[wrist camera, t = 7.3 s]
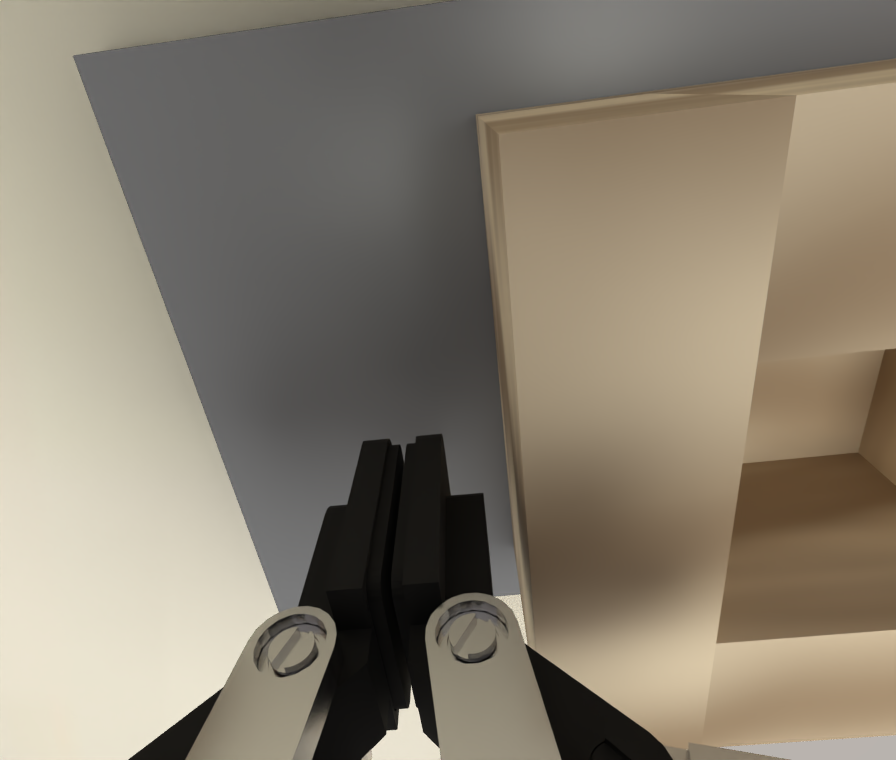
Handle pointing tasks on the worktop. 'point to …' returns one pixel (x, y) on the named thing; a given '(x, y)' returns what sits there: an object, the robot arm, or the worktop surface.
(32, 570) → the worktop surface
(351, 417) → the rail board
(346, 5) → the worktop surface
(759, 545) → the socket block
